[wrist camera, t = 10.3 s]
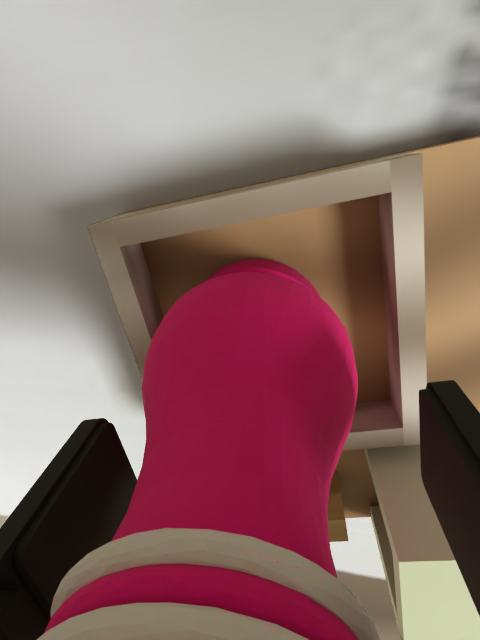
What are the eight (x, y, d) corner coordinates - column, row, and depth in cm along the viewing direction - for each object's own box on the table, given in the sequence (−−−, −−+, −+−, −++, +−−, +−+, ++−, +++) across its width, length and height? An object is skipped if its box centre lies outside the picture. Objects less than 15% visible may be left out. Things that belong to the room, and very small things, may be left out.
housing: (363, 436, 19) (398, 561, 13) (490, 425, 18) (592, 556, 12) (371, 518, 21) (405, 656, 15) (485, 512, 20) (568, 658, 14)
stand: (123, 213, 17) (73, 231, 13) (501, 130, 14) (589, 119, 10) (217, 503, 24) (204, 574, 20) (481, 488, 21) (527, 566, 17)
